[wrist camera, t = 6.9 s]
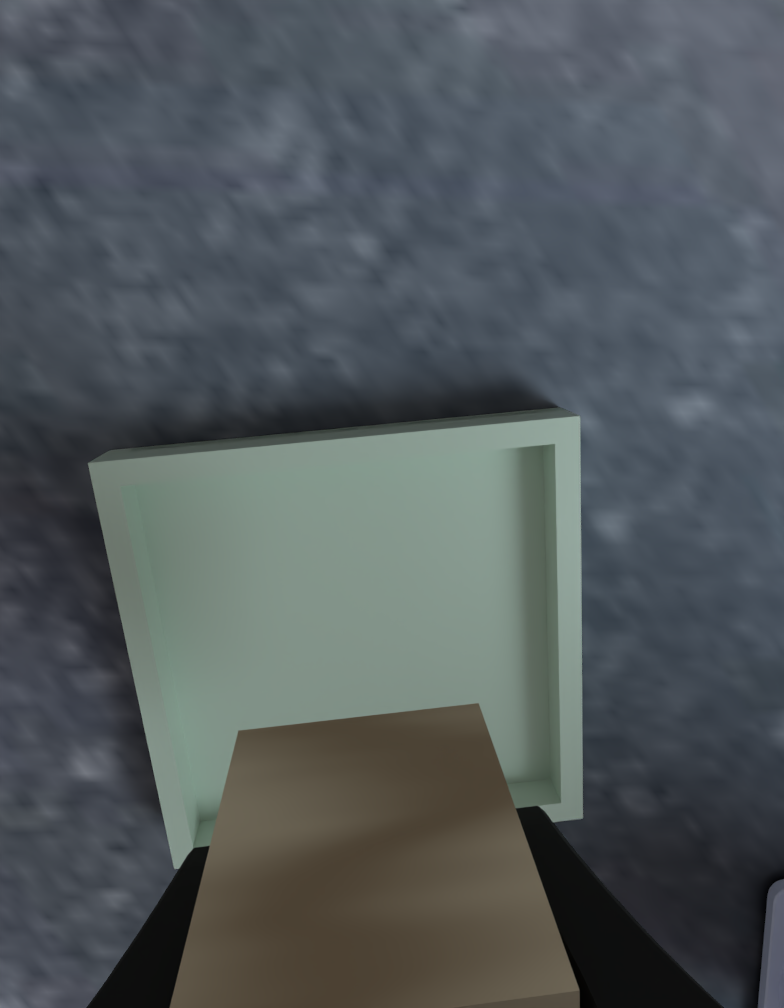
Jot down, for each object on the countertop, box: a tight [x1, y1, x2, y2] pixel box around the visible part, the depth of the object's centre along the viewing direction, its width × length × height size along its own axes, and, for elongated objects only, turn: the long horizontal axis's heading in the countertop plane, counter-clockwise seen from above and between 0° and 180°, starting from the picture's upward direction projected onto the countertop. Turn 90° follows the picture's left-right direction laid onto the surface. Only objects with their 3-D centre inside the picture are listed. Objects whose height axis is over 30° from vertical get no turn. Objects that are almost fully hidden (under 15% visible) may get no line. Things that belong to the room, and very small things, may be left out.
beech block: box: [170, 703, 580, 1008], centre depth 9 cm, size 4×4×5 cm
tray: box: [88, 407, 583, 869], centre depth 18 cm, size 11×11×2 cm
